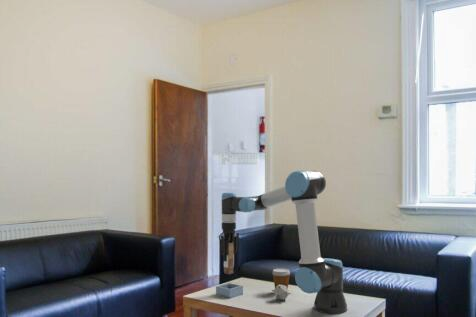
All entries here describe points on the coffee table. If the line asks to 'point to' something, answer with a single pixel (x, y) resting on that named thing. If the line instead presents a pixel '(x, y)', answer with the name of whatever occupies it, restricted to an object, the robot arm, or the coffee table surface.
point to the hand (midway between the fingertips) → (228, 266)
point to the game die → (281, 292)
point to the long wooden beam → (229, 259)
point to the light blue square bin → (229, 290)
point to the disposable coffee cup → (281, 277)
